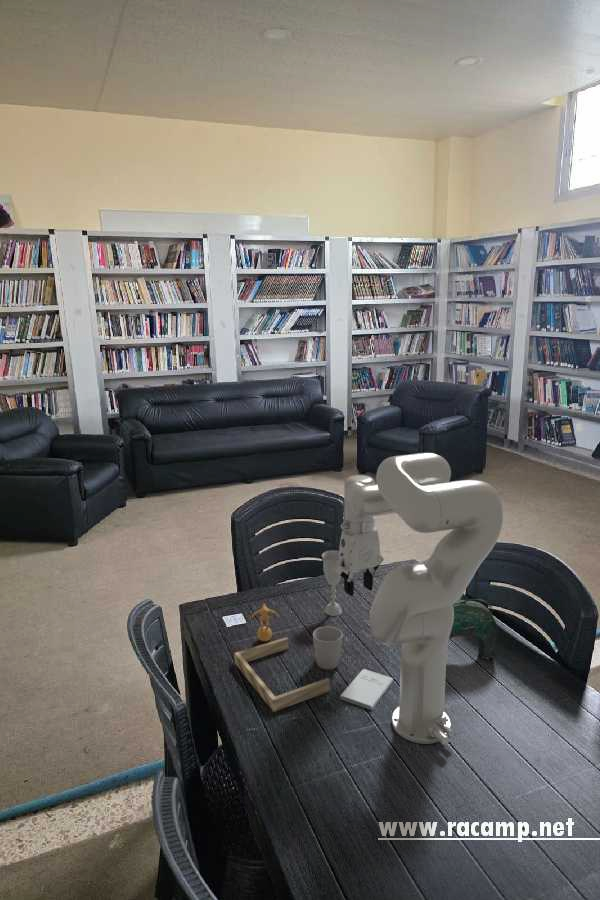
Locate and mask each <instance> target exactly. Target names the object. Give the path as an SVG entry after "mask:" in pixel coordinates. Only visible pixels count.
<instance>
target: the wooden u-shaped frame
mask: <svg viewBox="0 0 600 900" xmlns="http://www.w3.org/2000/svg"><path fill="white" fill-rule="evenodd" d="M288 649H289V638H288V637H287V636H285V637H282V638H279V639H276V640H273V641H269V642H266V643H263V644H260V645H257V646H253V647H250V648H245V649H243V650H239V651H237V652H234V664H235V666H236V667H238V669H239V671H240V672H241V673H242V674H243V675H244V677H245V678H246V680H247V681H248V682H249V683H250V684H251V686H252V687H253V688H254V689H255V690H256V692H257V693H258V694H259V696H260V697H261V698H262V699H263V701H264V702H265V703H266V704H267V706H268V707H269V708H270V709H271V711H272V712H274V713H275V712H277V711H280V710H282V709H285V708H287V707H291V706H294V705H296V704H299V703H301V702H302V703H303V702H304V701H307V700H310V699H313V698H315V697H319V696H322V695H324V694H327V693H329V692H330V691H331V690H330V689H331V688H330V687H331V681H330V678H328V677H326V678H323V679H320V680H318V681H315V682H313V683H310V684H307V685H304V686H301V687H298V688H296V689H293V690H290V691H287V692H284V693H282V694H279V695H275V694H273V692H272V691H271V689H269V687H268V686H267V685H266V684H265V682H264V681H263V680H262V679H261V678H260V676H259V675H258V674H257V673H256V671H255V670H254V669H253V668H252V667H251V666H250V665H249V663H248V662H251V661H256V660H258V659H261V658H264V657H267V656H270V655H274V654H277V653H280V652H283V651H287V650H288Z"/></svg>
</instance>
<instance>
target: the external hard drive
mask: <svg viewBox="0 0 600 900" xmlns="http://www.w3.org/2000/svg"><path fill="white" fill-rule="evenodd" d="M393 682H394V678H393V677H390V676H387V675H384V674H382V673H378V672H374V671H371V670H369V669H364V668H363V669H362V670H361V671H360V672H359V673H358V674H357V676H355V678H354V679H353V680H352V681H351V682H350V684H349V685H348V686H347V687H346V688H345V689H344V690H343V692H342V693H341V694H340V696H339V699H340V700H341V701H344V702H347V703H351V704H352V705H356V706H359V707H362V708H364V709H367V710H370V711H373V710H374V709H375V707H376V706H377V704H379V702H380V700H381V699H382V697H384V695H385V693H386V692H387V691H388V689H389V688H390V687H391V685H392V684H393Z"/></svg>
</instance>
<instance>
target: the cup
mask: <svg viewBox="0 0 600 900" xmlns="http://www.w3.org/2000/svg"><path fill="white" fill-rule="evenodd" d="M343 634H344V633H343V632H342V630H341V629H340V628H338V627H335V626H328V625H326V626H325V625H324V626H320V627H318V628H316V629H314V631H313V633H312V641H313V648H314V649H313V650H314V655H315V661H316V662H315V663H316V665H317V667H318V668H320V669H322V670H326V671H329V670H334V669H336V668H338V666H339V664H340V659H341V655H342V654H341V652H342V644H343V636H344V635H343Z"/></svg>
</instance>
